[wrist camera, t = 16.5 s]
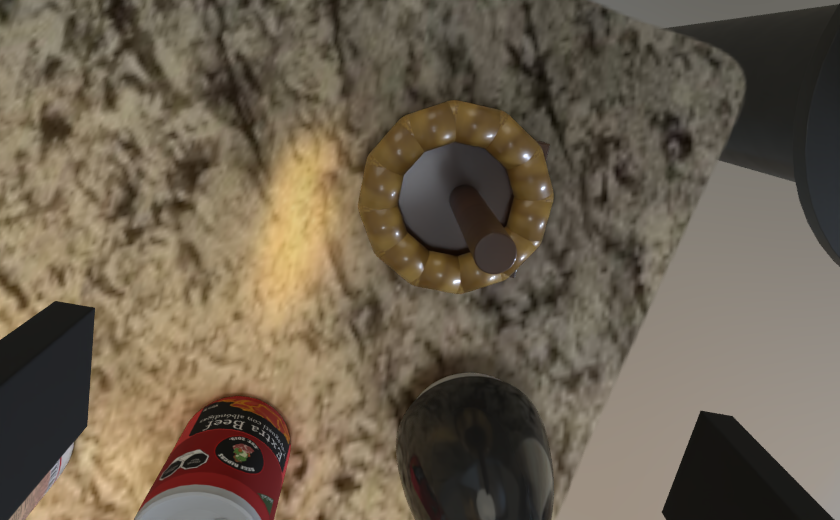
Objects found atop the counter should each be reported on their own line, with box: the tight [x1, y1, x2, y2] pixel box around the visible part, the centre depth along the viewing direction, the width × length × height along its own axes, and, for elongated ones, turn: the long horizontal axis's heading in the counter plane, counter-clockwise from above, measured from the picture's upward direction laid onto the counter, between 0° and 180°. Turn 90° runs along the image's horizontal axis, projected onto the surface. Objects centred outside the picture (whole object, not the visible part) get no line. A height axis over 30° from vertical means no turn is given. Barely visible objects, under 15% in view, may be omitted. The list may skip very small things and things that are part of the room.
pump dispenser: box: [396, 373, 554, 520], centre depth 39 cm, size 10×10×15 cm
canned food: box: [134, 396, 291, 520], centre depth 41 cm, size 8×8×11 cm
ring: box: [358, 100, 554, 294], centre depth 39 cm, size 12×12×2 cm
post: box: [398, 113, 550, 278], centre depth 35 cm, size 9×9×14 cm
